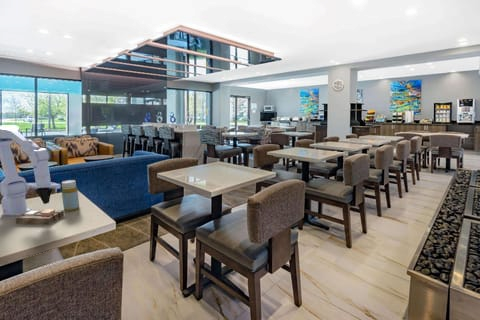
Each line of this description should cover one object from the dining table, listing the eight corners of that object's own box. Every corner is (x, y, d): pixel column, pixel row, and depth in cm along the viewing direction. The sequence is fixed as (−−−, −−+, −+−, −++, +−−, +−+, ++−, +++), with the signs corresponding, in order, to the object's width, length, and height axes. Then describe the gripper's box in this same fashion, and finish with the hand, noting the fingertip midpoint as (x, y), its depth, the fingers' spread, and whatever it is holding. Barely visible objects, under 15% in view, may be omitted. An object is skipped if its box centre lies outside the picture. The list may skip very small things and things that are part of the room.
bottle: (72, 212, 143) (69, 183, 140) (60, 211, 144) (57, 183, 141) (82, 207, 150) (79, 180, 147) (71, 206, 151) (68, 179, 148)
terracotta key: (41, 218, 131) (40, 212, 131) (47, 215, 135) (46, 209, 134) (49, 218, 131) (48, 212, 130) (55, 215, 135) (54, 209, 134)
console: (16, 223, 129) (15, 217, 128) (32, 215, 139) (32, 209, 138) (49, 224, 128) (48, 218, 128) (64, 216, 138) (63, 210, 137)
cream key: (25, 219, 132) (24, 213, 131) (31, 216, 136) (31, 210, 135) (33, 219, 131) (32, 213, 131) (39, 216, 135) (39, 210, 135)
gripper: (20, 177, 125) (24, 205, 128) (51, 177, 125) (55, 206, 127) (32, 173, 132) (36, 200, 135) (62, 173, 132) (65, 201, 134)
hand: (46, 203), depth 132 cm, fingers closed
